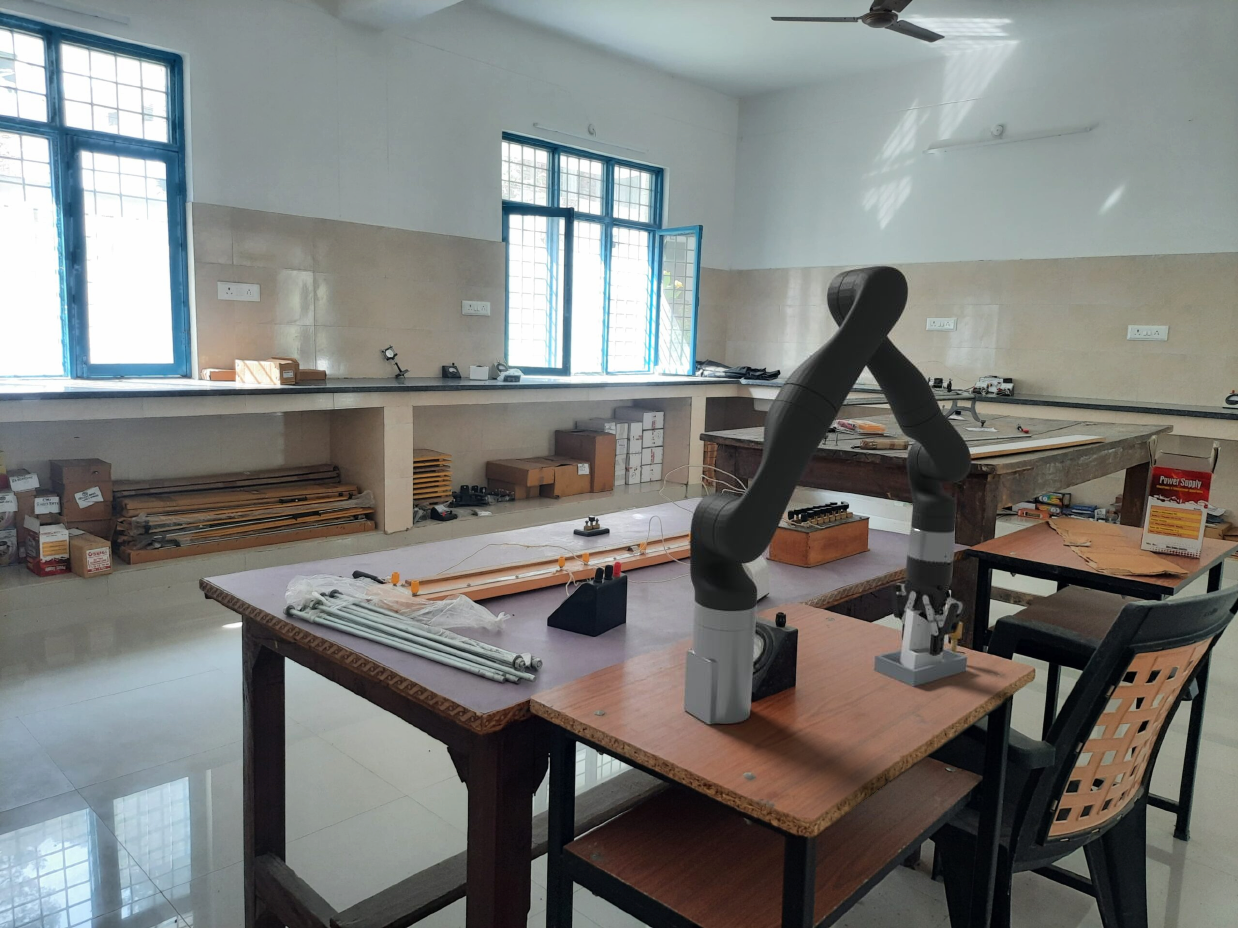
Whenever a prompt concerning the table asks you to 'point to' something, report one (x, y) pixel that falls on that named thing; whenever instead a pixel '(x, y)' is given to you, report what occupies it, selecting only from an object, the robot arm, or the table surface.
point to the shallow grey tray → (947, 667)
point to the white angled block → (917, 643)
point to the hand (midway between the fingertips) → (921, 649)
